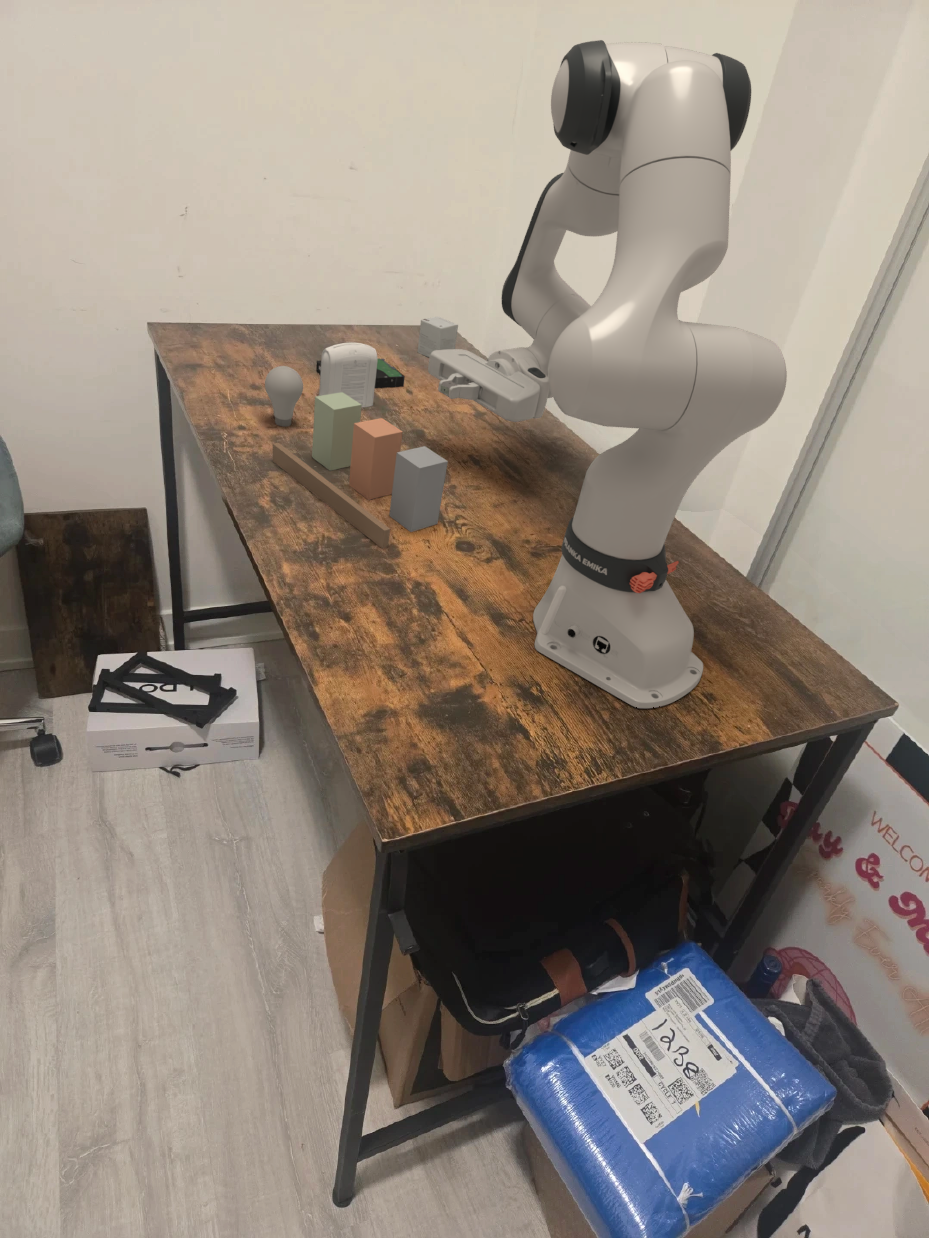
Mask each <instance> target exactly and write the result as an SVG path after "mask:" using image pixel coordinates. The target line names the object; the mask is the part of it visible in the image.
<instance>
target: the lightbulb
mask: <svg viewBox="0 0 929 1238" xmlns="http://www.w3.org/2000/svg"><path fill="white" fill-rule="evenodd" d="M264 387H265V393H266V394H267V396H268V398H269V400H270V402H271V404H272V410H273V416H274V422H275V425H277V426H279V427H285V428H286V427H290V426H291V425H292V418H293V417H294V410H295V407H296V405H297V403H298V401H299V400H300V398H301V397H302V395H303V391H304V383H303V380H302V377H301V375H300V374H299V373H298V371H296V369H294V368H293V367H290V366H287V365H279V366H275V367H274V368H272V369H271V370H270V371H268V373H267V374H266V377H265V380H264Z"/></svg>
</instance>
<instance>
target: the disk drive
mask: <svg viewBox="0 0 929 1238" xmlns="http://www.w3.org/2000/svg"><path fill="white" fill-rule="evenodd" d="M377 359H378V361H377V370H376V380H375V389H386V388H391V389H392V388H402V387H403V388H404V384H405V378H406V377H405V375H404V374H403V373H401V372H400V370H398V369H397V368H396V367H394V366H392V365H391V363H389V362H387V361H385V358H379V357H377ZM315 369H316V371H315V372H316V373H318V375H320V373H321V359H320V360H316V368H315Z"/></svg>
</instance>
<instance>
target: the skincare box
mask: <svg viewBox="0 0 929 1238" xmlns="http://www.w3.org/2000/svg"><path fill="white" fill-rule="evenodd" d="M458 328H459V324H458V323H455V322H453V321H450V320H448V319H445V318H444V317H441V316H432V317H427V318H422V319H421V320H420V328H419V336H418V344H417V345H418V347H417V353H418V354H420V355H422V356H425V357H427V358H429V359H430V355H431V353H432V352H433V351H435V350H445V349H456V345H457V344H456V343H457V337H458V336H457V335H458V330H459V329H458Z"/></svg>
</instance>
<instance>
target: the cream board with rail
mask: <svg viewBox="0 0 929 1238" xmlns="http://www.w3.org/2000/svg"><path fill="white" fill-rule="evenodd" d="M271 456H272V458H271V459H272V461H271V462H274V464H276V465H277V466H278V467H280V468H281V469H282V470H283V471H285V472H286V474H288V475H289V476H291V477H292V478H293V479H294V480H296V481H297V482H299V484H301V485H302V486H303V487H305V488H306V489H307V490H309V492H311V493H312V494H313V495H314V496H316V497H317V498H319V500H321V501H322V502H324V503H325V504H326V505H327V506H328V507H330V509H332V510H333V511H334V512H336V513H337V514H338V515H339V516H341V517H342V518H343V519H345V520H346V521H347V522H348V523H350V524H351V525H352V526H354V527H355V528H356V529H357V530H358V531H360V532H361V533H362V534H364V536H366V537H367V538H368V539H370V540H371V541H372V542H373V543H375V544H376V545H377V546H378V547H380V548H381V549H386V548H388V547H389V544H390V543H389V542H390V534H391V528H390V527H389V526H387V525H386V524H384V522H382V521H381V520H380V519H378V518H377V517H375V515H373V514H372V513H370V512H369V511H368V510H367V509H365V508H364V507H363V506H361V505H360V504H359V503H358V502H356V501H355V500H353V499H352V498H351V497H350V496H349V495H347V494H346V493H344V492H343V491H342V490H341V489H340V488H338V486H335V485H334V484H333V483H332V482H330V481H329V480H328V479H326V478H325V477H324V476H323V475H322V474H320V473H319V472H317V471H316V470H315V469H314V468H312V467H311V466H310V465H308V464H307V463H306V462H304V461H303V460H302V459H301V458H299V457H298V456H297V455H295V454H294V453H293V452H291V451H290V450H289V449H287V448H286V447H285V446H284V445H282V443H280V442H273V443H272V454H271Z"/></svg>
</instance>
